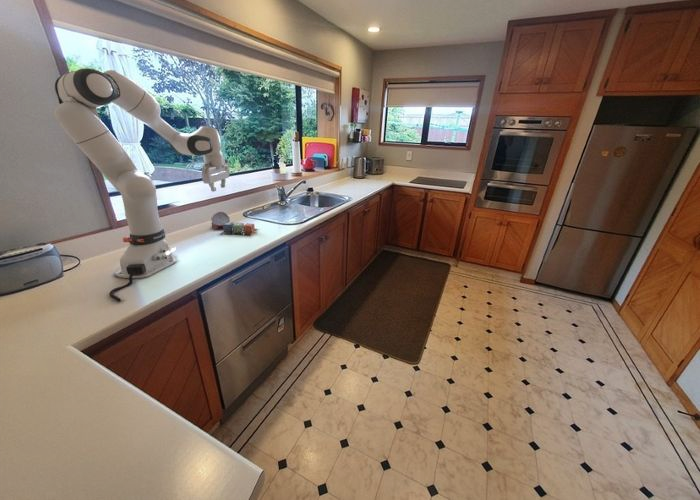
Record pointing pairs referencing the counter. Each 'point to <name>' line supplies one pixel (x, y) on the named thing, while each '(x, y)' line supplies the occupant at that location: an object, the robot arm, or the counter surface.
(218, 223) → the canned food
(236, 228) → the letter A
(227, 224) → the letter T
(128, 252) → the robot arm
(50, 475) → the counter surface
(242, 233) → the word board
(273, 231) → the counter surface
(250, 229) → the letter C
